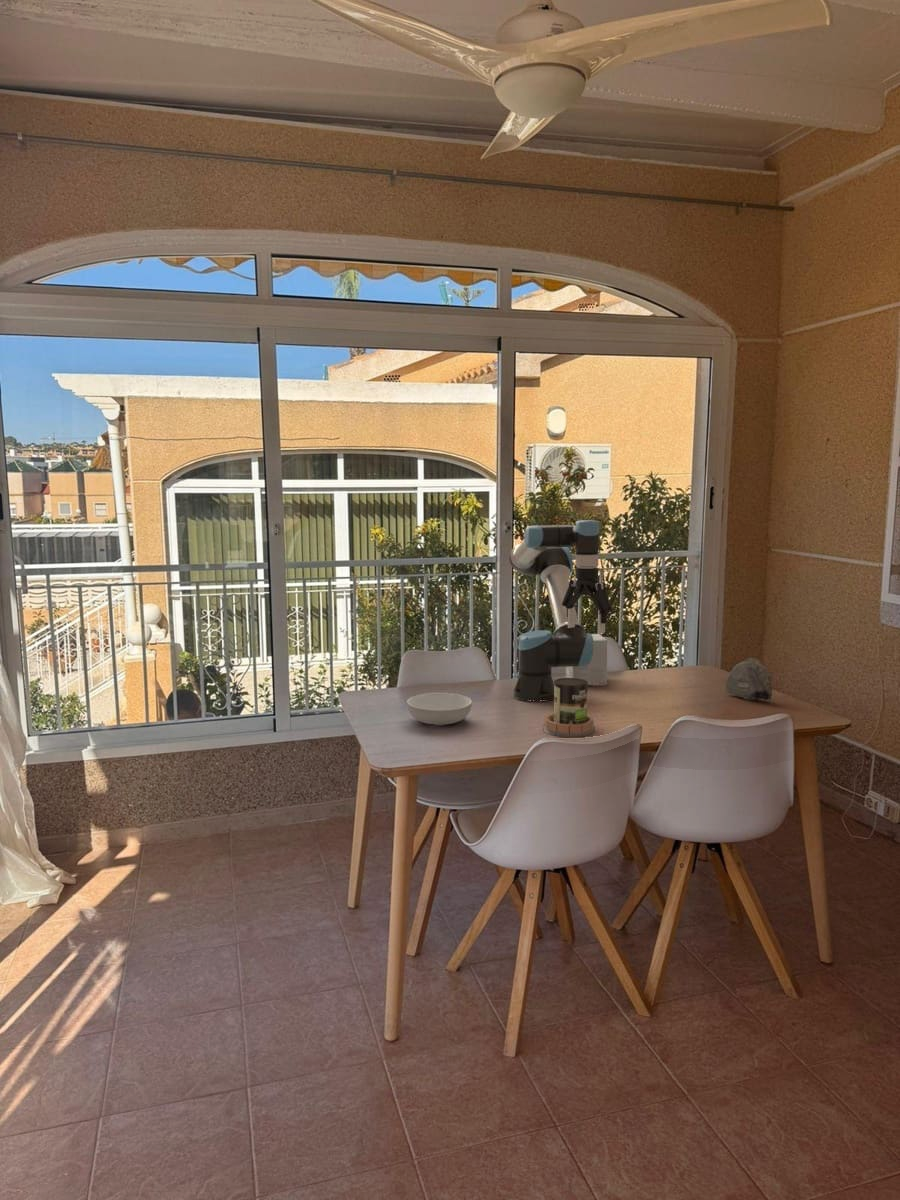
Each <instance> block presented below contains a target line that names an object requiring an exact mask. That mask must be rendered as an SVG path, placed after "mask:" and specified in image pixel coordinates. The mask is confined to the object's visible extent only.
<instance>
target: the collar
mask: <svg viewBox="0 0 900 1200" xmlns="http://www.w3.org/2000/svg"><path fill="white" fill-rule="evenodd" d="M543 722H544V723H543V724H542V729H543V728H544V729H545V730H546V731H548V732H549V733H551V734H554V735H553V736H555V735H559V736H558V737H562V738H582V737H587V736H591V735H593V734H594V733H595V732H596V725H595V719H594V718H593V717H592V715H590V714H587V722H585V723H582V724H560V723H556V722H554V712H552V713H548V714H546V715H545V716H544V718H543ZM551 734H550V735H551Z"/></svg>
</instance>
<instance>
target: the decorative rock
mask: <svg viewBox="0 0 900 1200" xmlns="http://www.w3.org/2000/svg"><path fill="white" fill-rule="evenodd" d="M772 685H773V681H772V678H771V675H770V674H769V672H768V670H767V668H766V667H765V666H764V665H763V663H762V662H761V661H760V660H758V659H756V658H755V657H748V658H747V659H746V660H744V661H743V660H742V661H740V662H739V663H737V664H735V665H734V666H733V668H732V669H731V671H730V672H729V673H728V674H727V679H726V681H725V687H724V688H725V692H726V693H728V694H731V695H734V696H736V697H740V698H742V699H744V700H745V699H746V700H747V701H755V700H759V699H760V700H763V701H764V700H765V701H767V700H771V699H772V694H773V693H772V692H773V686H772Z"/></svg>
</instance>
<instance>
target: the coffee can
mask: <svg viewBox="0 0 900 1200" xmlns="http://www.w3.org/2000/svg"><path fill="white" fill-rule="evenodd" d="M553 682H554V699H553V713H554V722H556V723H560V724H582V723H585V722H587V715H588V713H587V711H588V686H587V685H588V682H587V681H586V680H583V679H578V678H566V677H562V678H557V679H554V680H553Z"/></svg>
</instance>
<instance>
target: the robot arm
mask: <svg viewBox="0 0 900 1200" xmlns="http://www.w3.org/2000/svg"><path fill="white" fill-rule="evenodd" d="M523 537H524V540H523V541H522V542H521V543H519V544H517V545H515V546H514V547H513V548H512V549H511V550H510V553H509V555H508V559H509V561H508V562H509V564H510V566H511V567H512V568H513V569H514V570H515V571H516V572H518V573H520V574H522V575H526V576H539V577H540V580H541V581H542V582H543V583H544V584H545V586H546V591H547V595H548V600H549V604H550V608H551V613H552V618H553V622H554V627H555V629H554V631H553V632H552V631H551V630H547V629H544V630H541V629H540V630H532V631H527V632H524V633H523V634H521V635H520V637H519V639H518V646H517V649H518V676H517V679H516V682H515V685H514V688H513V697H514V696H515V697H517V698H519V699H523V700H531V701H530V702H532V701H533V700H534V701H540V700H542V701H540V702H544V701H543V700H549V701H551V699H552V700H554V679H553V676H552V670H553V669H552V668H566V667H574V666H577V667H579V666H586V665H588V664H589V663H590V662H591V659H592V656H593V636H592V635H591V634H592V633H590V632H587V633H586V630H585V628H584V626H583V625H581V624H580V622H579V619H578V614H577V610H576V606H575V605H576V604H577V602H578V601H579V599H580V598H581V596H589V598H591V599H592V601H593V603H594V604H595V607H596V608H597V609H598V614H597V634H600V635H601V634H605V633H606V624H607V622H608V621H607V619H608V616H607V615H608V613H612V612H613V608H612V605H611V603H610V600H609V596H608V594H607V591H606V584H605V582H600V583H598V579H599V568H598V566H599V554H600V551H599V549H600V523H599V521H598V520H594V519H593V520H592V519H581V520H577V521H576V522H575V524H566V525H565V524H558V525H557V524H556V525H554V524H553V525H547V524H546V525H545V524H544V525H539V524H538V525H537V524H535V525H529V526H528V525H527V527H526V528H525V530H524V536H523ZM570 548H575V566H576V567H575V569H574V560H573V554H572V551H571V550H570ZM573 569H574V570H575V572H574V574H575V579H569V577H570V576H571V573H572V572H573ZM515 697H514V698H515ZM519 699H518V700H519ZM523 700H522V701H523Z"/></svg>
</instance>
